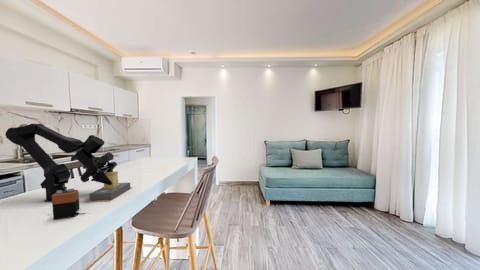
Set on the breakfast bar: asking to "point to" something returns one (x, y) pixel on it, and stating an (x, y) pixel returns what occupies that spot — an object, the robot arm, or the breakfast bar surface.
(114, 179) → the plug
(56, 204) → the battery
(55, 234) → the breakfast bar surface
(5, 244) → the breakfast bar surface
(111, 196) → the panel
